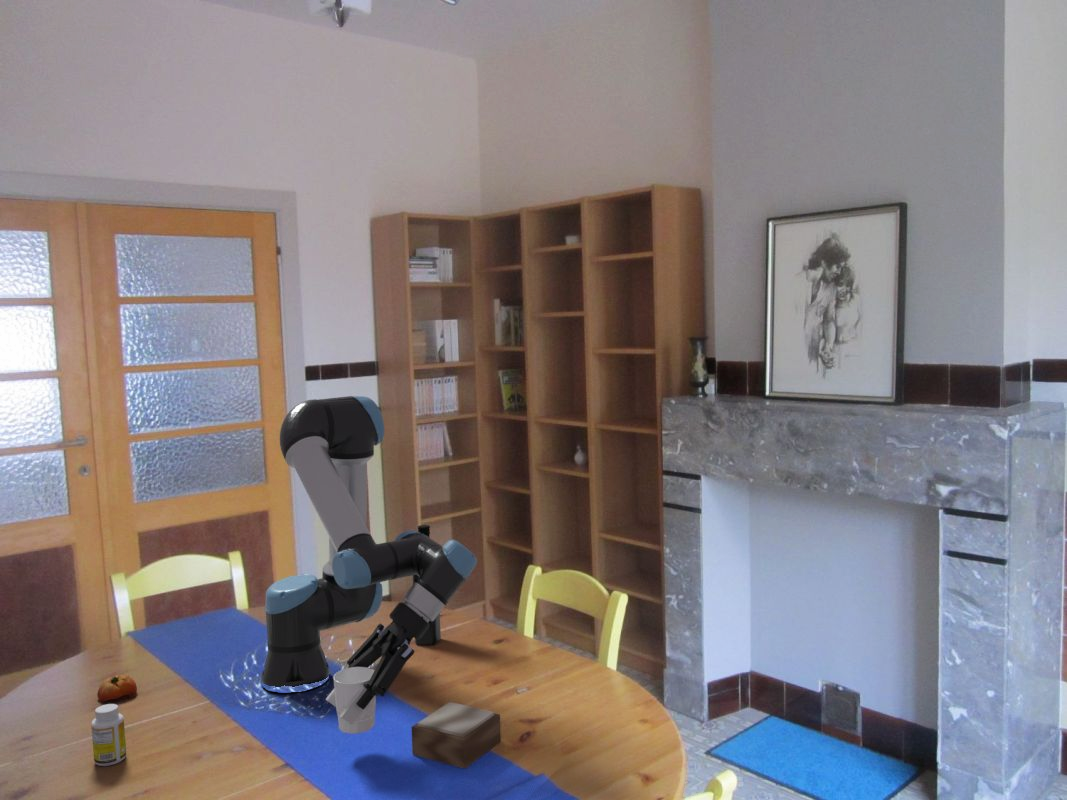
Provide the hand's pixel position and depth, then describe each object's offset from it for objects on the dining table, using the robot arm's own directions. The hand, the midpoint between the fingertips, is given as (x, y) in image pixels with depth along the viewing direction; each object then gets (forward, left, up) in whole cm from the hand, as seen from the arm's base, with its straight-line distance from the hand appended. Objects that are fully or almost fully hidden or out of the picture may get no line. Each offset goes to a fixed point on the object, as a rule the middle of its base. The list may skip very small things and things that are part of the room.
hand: (338, 711), depth 167 cm
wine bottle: (-23, +57, -9) cm, 62 cm away
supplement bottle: (-39, -21, -9) cm, 45 cm away
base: (+17, +13, -9) cm, 24 cm away
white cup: (+2, +3, -4) cm, 5 cm away
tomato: (-65, -1, -9) cm, 65 cm away
